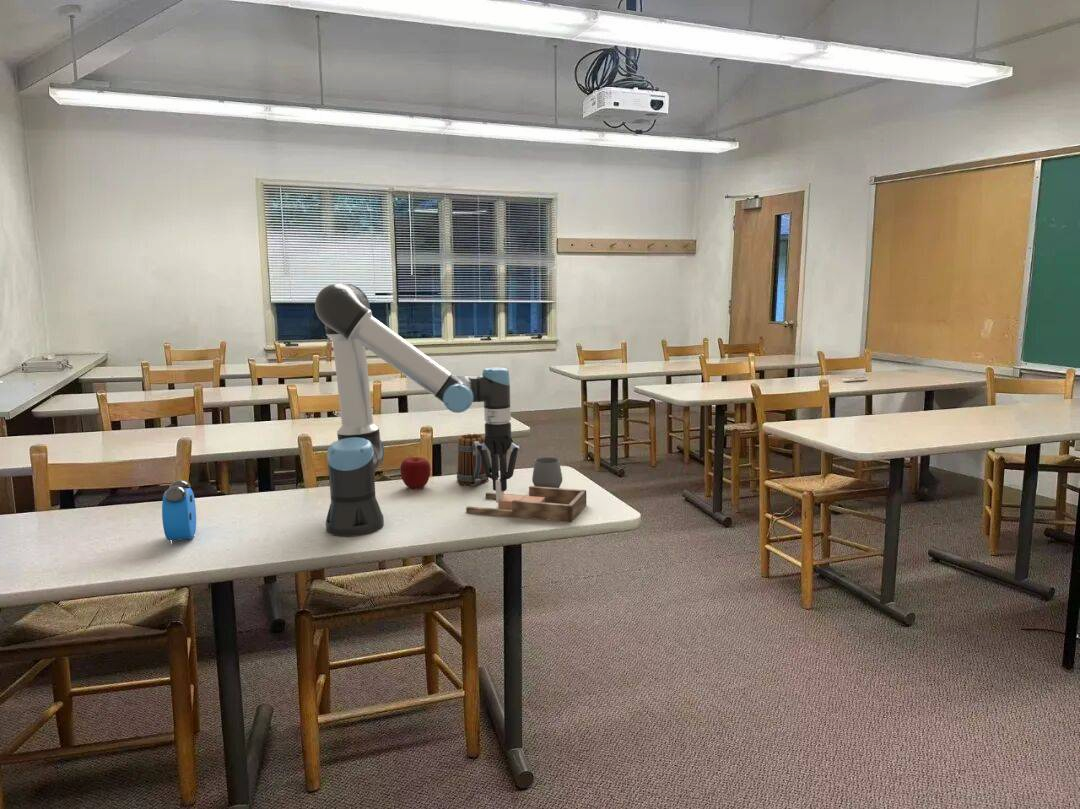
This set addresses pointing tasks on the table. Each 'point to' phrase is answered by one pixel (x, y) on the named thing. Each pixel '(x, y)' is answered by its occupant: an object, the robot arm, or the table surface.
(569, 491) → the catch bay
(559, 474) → the cup
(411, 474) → the apple
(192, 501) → the alarm clock
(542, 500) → the tile
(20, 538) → the table surface
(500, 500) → the tile
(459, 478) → the mug
